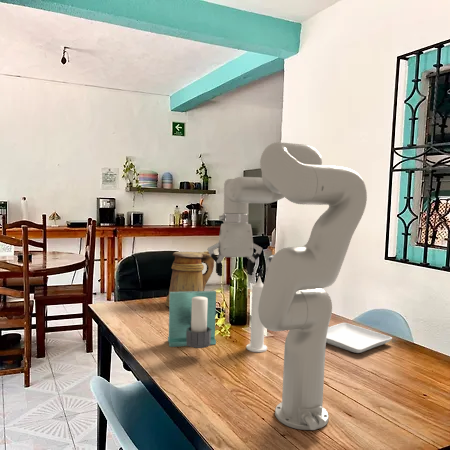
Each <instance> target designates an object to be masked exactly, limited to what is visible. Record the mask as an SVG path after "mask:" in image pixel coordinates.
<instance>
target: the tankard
mask: <svg viewBox="0 0 450 450" xmlns="http://www.w3.org/2000/svg"><path fill="white" fill-rule="evenodd" d="M172 256H174V260H173V262H172V265H171V269H172V273H171V276H170V277H171V279H170V286H169V290H168V295H167V296H166V300H165V306H166V307H168V308H169V294H170V292H185V291H205V288H206V285H207V284H208V281H209V280H210V278H211V276H212V274H213V272H214V268H215V261H214V260H213V259H212V257H211V256H210V254H209V252H208V250H207V251H206V250H205V251H202V252H201V251H175V252H173V253H172ZM204 264H205V265H206V270H205V272H203V271H204V269H205V268H204V267H205V266H204Z"/></svg>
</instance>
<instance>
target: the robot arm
mask: <svg viewBox="0 0 450 450" xmlns="http://www.w3.org/2000/svg"><path fill="white" fill-rule="evenodd" d="M259 164H260V165H259V166H260V170H261V177H258V176H257V177H256V176H255V177H254V176H236V177H234V178H228V179H226V180H224V183H223V213H222V215H218V220H219V221H222V222H223V223H221V225H220V229H219V237H218V242H216V243H214V244H212V245H211V246H209V247H207V251H208V252H209V254H210V256H211V257H212V259H213V260H214V263H215V273H216V274H217V276H218V277H222V276H223V263H222V261H223V259H224V258H247V259H248V260H247V261H246V263H247V266H246V267H247V268H246V269H247V270H246V274H247V275H249V276H253V273H254V271H255V263H256V261H257V260H258V258H259V257H260V256H261V253H262V251H263V247H261V246H259V245H258V244H256V243H254V238H253V229H252V224H251V223H249V204H272V203H275V202H278V201H280V200H282V199H284V198H285V200H286V199H287V201H289V202H291V203H293V204H296V205H297V204H298V205H306V206H307V205H310V206H311V205H312V206H313V205H315V206H316V205H318V206H319V205H322V206H323V205H326V206H327V205H328V208H327V209H326V210H325V211H324V212H323V213H322V214H321V215H320V216H319V217H318V219H316V221H315V222H314V224H313V226H312V229H311V232H310V235H309V238H308V240H307V242H306V244H304V245H303V246H288V247H284V248H281V249H279V250H278V251H277V252H276V253H275V254H273V255H274V256H273V258H272V259H271V262H270V265H269V268H268V271H267V275H266V274H265V278H264V279H265V280H264V281H263V284H264V285H263V289H262V293H261V296H260V300H259V307H258V312H259V318H260V321H261V323H262V325H263V326H264V329H266V330H268V331H271V332H284V331H288V332H287V334H286V337H285V340H284V349H283V351H284V353H283V354H284V355H283V371H282V375H283V376H282V395H281V396H282V397H281V402H280V403H278V404H277V405H276V407H275V410H274V415H275V418H276V419H277V420H278V421H279V422H280V423H281V424H283V425H285V426H287V427H289V428H293V429H296V430H303V431H316V430H318V429H321V428H323V427H325V426H326V425H327V424H328V423H329V412H328V411H327V409H326V408H325V407H323V404H324V403H323V402H324V401H323V400H324V384H325V383H324V382H325V381H324V380H325V367H326V366H325V364H326V363H325V361H326V347H327V346H326V345H327V343H326V337H327V331H328V327H330V322H331V318H332V314H333V313H332V312H333V301H332V299H331V296H330V295H329V293H328V292H327V291H326V290H325V289H326V288H329V287H331V286H333V285H334V284H335V282H336V281H337V279H338V277H339V273H340V272H341V269H342V266H343V263H344V260H345V257H346V255H347V252H348V250H349V246H350V244H351V241H352V238H353V235H354V234H355V232H356V229H357V228H358V226H359V223H360V221H361V220H362V217H363V216H364V213H365V210H366V206H367V200H368V195H367V194H368V192H367V187H366V184H365V182H364V179H363V177H362V176H361V175H360V173H358V172H357V171H355V170H353V169H351V168H348V167H344V166H338V165H337V166H336V165H328V164H327V165H324V164H323V159H322V155H321V154H320V152H319V151H318V150H317V149H316V148H315V147H313V146H310V145H309V144H303V143H292V142H291V143H290V142H280V141H279V142H273V143H270V144H269V145H267V146H266V147H265V148H264V149H263V151H262V153H261V156H260V159H259ZM217 249H218V255H216V254H215V252H214V251H215V250H217ZM254 249H255V252H254Z"/></svg>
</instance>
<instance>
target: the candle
mask: <svg viewBox="0 0 450 450" xmlns="http://www.w3.org/2000/svg"><path fill="white" fill-rule="evenodd" d="M263 285H264V282H262V279H261V276H258V279H257V281H256V282H255V283H254V284H252V289H251V314H250V315H251V317H250V318H251V319H250V320H251V321H250V343H248V344H247V345H246V350H248V351H249V352H253V353H264V352H266V351H267V350H268V346H267V345H266V344H265V343H264V342H265V327H264V326H263V325H262V323H261V321H260V318H259V312H258V307H259V300H260V296H261V293H262V289H263Z"/></svg>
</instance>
